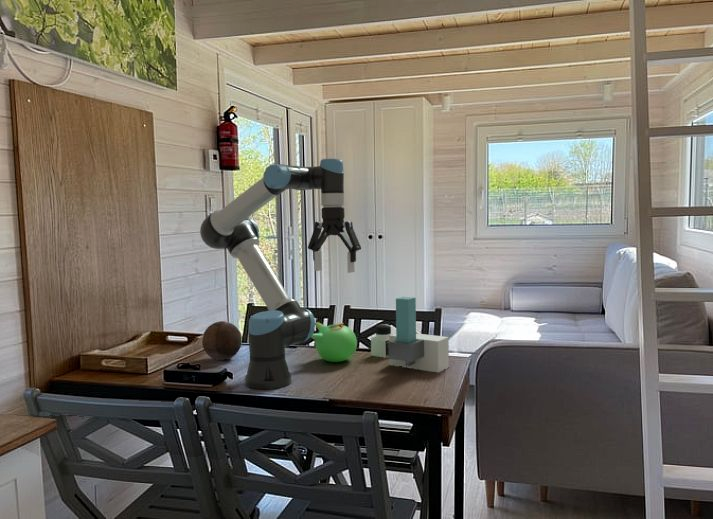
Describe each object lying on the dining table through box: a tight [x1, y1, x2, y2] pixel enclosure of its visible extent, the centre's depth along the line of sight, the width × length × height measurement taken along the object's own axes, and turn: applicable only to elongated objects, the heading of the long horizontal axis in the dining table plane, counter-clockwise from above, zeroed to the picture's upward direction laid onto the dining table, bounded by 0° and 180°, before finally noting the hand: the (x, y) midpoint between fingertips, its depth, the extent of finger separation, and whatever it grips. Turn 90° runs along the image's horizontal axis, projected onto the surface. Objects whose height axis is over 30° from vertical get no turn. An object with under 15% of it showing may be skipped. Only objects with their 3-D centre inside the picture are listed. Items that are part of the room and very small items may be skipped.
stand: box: [388, 332, 450, 373], centre depth 212 cm, size 20×8×11 cm, turn 54°
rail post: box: [395, 296, 417, 343], centre depth 204 cm, size 5×5×20 cm
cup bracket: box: [388, 339, 424, 366], centre depth 205 cm, size 9×9×9 cm
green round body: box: [310, 321, 358, 363], centre depth 222 cm, size 18×17×15 cm
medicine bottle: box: [370, 323, 392, 359], centre depth 229 cm, size 7×7×12 cm
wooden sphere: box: [201, 320, 243, 361], centre depth 228 cm, size 15×15×15 cm
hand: (334, 271), depth 193 cm, fingers open, 13 cm apart
